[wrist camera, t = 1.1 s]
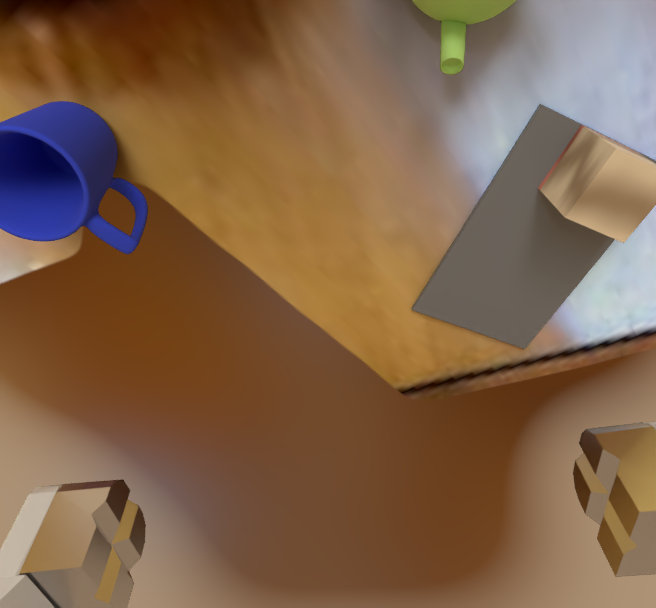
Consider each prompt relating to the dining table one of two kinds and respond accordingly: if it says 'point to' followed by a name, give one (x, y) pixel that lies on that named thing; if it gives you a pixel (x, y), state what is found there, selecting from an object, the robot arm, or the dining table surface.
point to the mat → (515, 246)
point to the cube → (601, 184)
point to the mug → (62, 176)
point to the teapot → (458, 25)
